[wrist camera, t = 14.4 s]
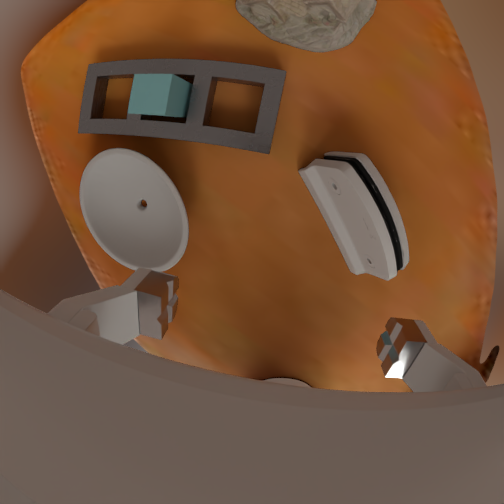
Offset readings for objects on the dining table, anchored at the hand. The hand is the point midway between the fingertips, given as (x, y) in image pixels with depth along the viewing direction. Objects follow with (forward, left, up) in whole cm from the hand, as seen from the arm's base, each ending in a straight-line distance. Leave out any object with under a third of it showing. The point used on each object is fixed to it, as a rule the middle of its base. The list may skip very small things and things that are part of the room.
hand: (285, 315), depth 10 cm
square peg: (+8, +15, -26) cm, 31 cm away
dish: (-6, +18, -27) cm, 32 cm away
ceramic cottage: (+26, +1, -27) cm, 37 cm away
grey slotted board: (+9, +15, -26) cm, 31 cm away
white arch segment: (-1, -10, -27) cm, 29 cm away
